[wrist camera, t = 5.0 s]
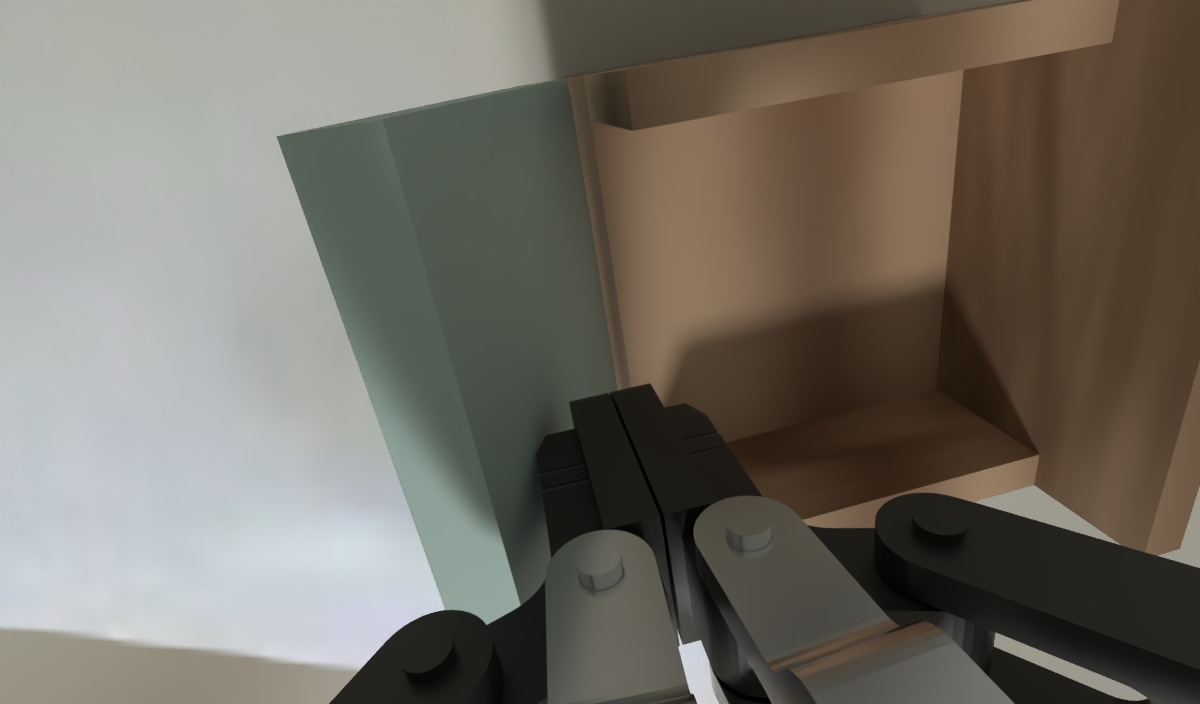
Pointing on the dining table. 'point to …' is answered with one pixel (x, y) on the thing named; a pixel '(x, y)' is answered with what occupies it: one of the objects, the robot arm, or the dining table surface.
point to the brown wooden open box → (920, 256)
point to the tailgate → (464, 313)
